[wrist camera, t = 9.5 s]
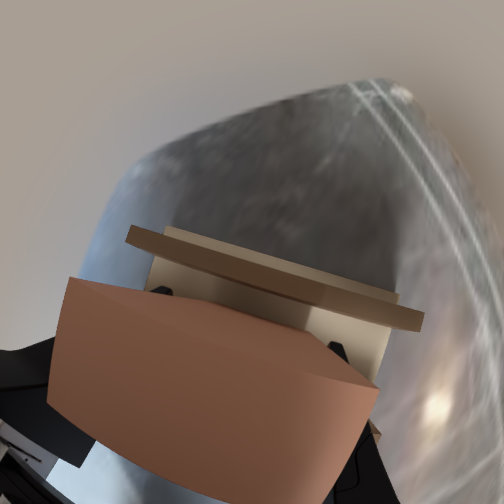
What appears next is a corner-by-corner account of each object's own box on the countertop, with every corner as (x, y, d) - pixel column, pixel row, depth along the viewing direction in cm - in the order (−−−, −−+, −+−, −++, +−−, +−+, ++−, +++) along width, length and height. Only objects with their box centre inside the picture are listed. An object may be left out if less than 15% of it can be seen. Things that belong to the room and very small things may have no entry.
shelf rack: (346, 433, 15) (364, 467, 10) (130, 359, 18) (89, 370, 13) (394, 295, 17) (429, 289, 12) (171, 229, 19) (139, 204, 15)
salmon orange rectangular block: (293, 377, 15) (310, 520, 3) (202, 346, 16) (46, 402, 4) (309, 331, 15) (379, 390, 3) (217, 302, 16) (69, 276, 4)
